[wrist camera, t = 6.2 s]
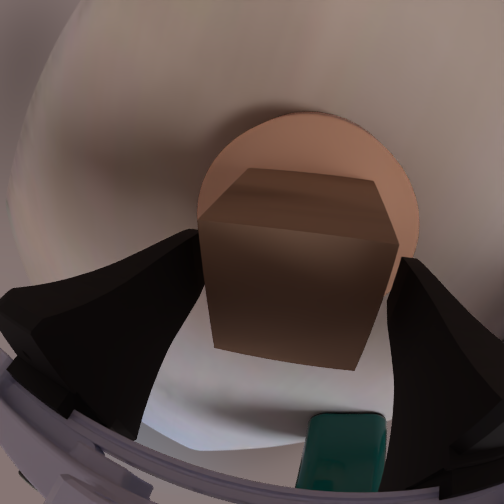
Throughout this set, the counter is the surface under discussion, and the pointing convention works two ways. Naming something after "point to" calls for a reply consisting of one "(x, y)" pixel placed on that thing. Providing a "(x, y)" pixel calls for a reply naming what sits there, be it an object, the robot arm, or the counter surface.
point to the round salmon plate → (320, 165)
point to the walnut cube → (296, 266)
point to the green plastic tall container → (343, 453)
